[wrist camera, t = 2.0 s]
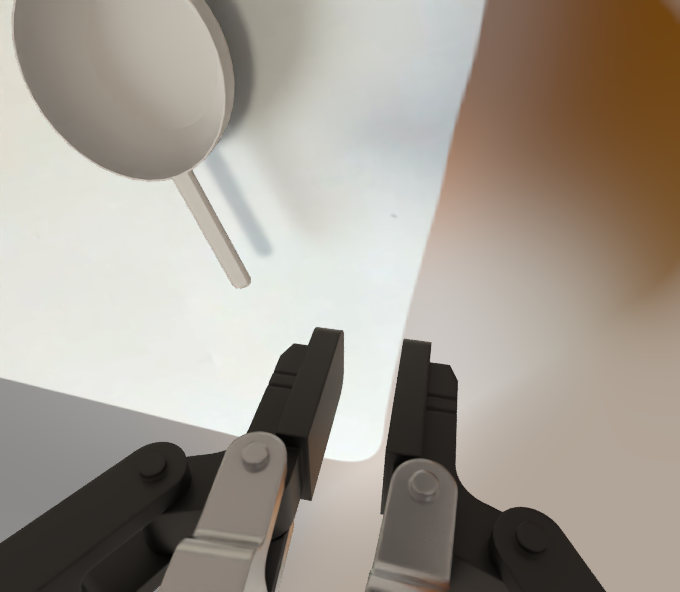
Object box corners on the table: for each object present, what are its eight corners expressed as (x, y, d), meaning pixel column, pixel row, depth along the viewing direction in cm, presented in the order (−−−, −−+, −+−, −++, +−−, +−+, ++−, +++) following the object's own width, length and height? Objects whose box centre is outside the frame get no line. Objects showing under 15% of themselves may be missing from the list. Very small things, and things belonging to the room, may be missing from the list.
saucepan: (177, -110, 23) (132, -114, 20) (337, 233, 31) (323, 267, 28) (17, -4, 27) (-40, 7, 24) (197, 274, 36) (172, 307, 33)
